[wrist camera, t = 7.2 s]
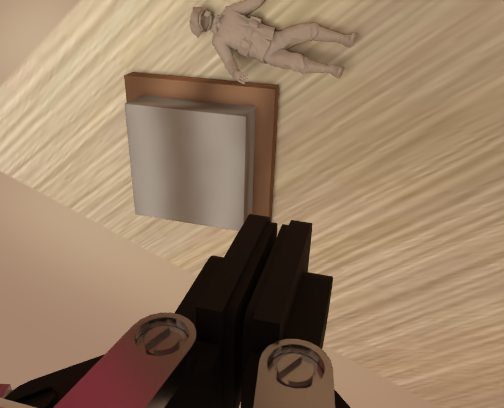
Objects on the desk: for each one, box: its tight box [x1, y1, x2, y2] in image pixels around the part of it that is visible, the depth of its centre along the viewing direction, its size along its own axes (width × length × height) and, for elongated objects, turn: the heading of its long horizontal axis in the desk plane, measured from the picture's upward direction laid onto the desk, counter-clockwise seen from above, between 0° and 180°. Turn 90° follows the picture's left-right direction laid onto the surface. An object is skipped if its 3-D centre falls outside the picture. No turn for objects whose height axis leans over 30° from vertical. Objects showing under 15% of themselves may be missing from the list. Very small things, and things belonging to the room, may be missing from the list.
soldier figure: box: [190, 0, 357, 84], centre depth 34 cm, size 8×5×12 cm
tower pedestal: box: [124, 72, 279, 231], centre depth 40 cm, size 13×13×4 cm
